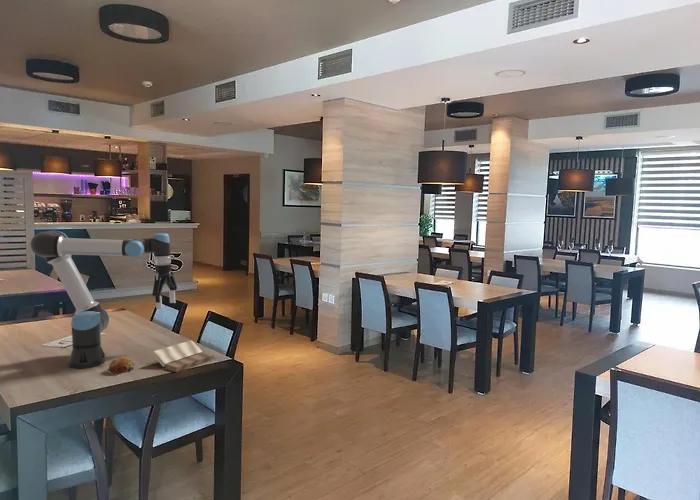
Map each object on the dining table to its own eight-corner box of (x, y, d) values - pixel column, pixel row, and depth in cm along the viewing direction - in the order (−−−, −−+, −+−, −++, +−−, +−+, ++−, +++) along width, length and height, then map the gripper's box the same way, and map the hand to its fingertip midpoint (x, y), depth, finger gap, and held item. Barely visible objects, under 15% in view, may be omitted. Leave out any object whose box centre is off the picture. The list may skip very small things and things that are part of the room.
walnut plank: (176, 372, 215) (176, 367, 215) (165, 368, 219) (165, 364, 219) (214, 359, 234) (214, 354, 234) (203, 356, 238) (203, 352, 238)
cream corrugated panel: (163, 367, 220) (164, 363, 219) (152, 354, 223) (153, 351, 223) (201, 354, 238) (202, 351, 238) (190, 343, 242) (191, 340, 241)
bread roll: (130, 373, 224) (126, 357, 225) (139, 369, 218) (135, 352, 219) (108, 379, 216) (104, 362, 218) (117, 374, 210) (113, 357, 211)
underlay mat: (176, 374, 214) (176, 373, 214) (144, 365, 225) (144, 364, 225) (217, 359, 234) (217, 358, 234) (186, 352, 246) (186, 351, 246)
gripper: (157, 267, 230) (160, 311, 232) (181, 260, 255) (184, 300, 257) (142, 267, 231) (145, 311, 233) (168, 261, 256) (171, 300, 258)
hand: (166, 305), depth 245 cm, fingers open, 13 cm apart
